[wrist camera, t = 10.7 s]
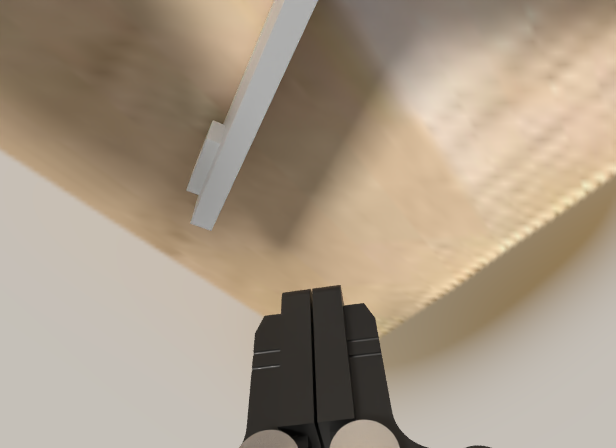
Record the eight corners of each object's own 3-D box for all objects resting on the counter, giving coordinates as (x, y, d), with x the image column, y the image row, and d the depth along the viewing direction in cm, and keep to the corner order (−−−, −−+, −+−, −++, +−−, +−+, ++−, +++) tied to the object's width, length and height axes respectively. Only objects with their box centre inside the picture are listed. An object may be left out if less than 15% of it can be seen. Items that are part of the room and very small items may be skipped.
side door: (230, 165, 21) (215, 236, 17) (198, 152, 20) (175, 222, 16) (364, -136, 15) (395, -143, 10) (322, -163, 14) (337, -183, 10)
